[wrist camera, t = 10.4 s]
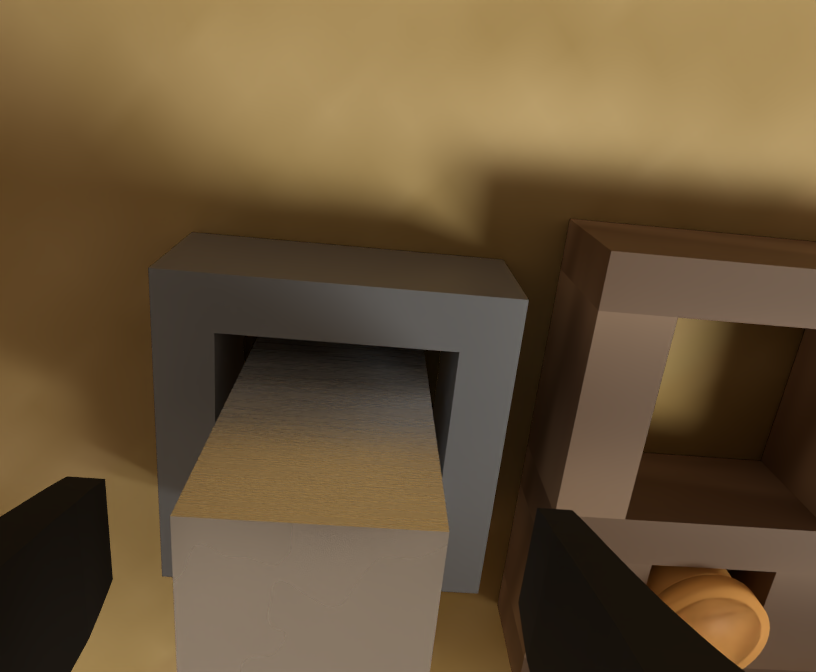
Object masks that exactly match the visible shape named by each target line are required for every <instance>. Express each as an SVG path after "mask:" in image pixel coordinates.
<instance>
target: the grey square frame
mask: <svg viewBox="0 0 816 672" xmlns="http://www.w3.org/2000/svg"><path fill="white" fill-rule="evenodd" d="M148 272H149V294H150V316H151V338H152V361H153V383H154V405H155V427H156V449H157V471H158V494H159V516H160V538H161V560H162V576H166V577H173V571H172V549H171V526H170V515H171V513H172V511H173V509H174V507H175V505H176V503H177V501H178V499H179V497H180V495H181V493H182V491H183V489H184V487H185V485H186V483H187V480H188V478H189V476H190V474H191V472H192V470H193V468H194V466H195V464H196V462H197V460H198V458H199V456H200V454H201V452H202V450H203V448H204V446H205V444H206V442H207V440H208V437H209V435H210V433H211V431H212V429H213V427H214V425H215V423H216V421H217V419H218V417H219V415H220V413H221V411H222V409H223V407H224V405H225V403H226V401H227V399H228V397H229V394H230V392H231V390H232V388H233V386H234V384H235V382H236V380H237V378H238V376H239V374H240V372H241V370H242V368H243V366H244V335H246V336H259V337H271V338H284V339H297V340H310V341H322V342H335V343H348V344H361V345H373V346H386V347H399V348H412V349H424V350H437V351H440V359H439V367H438V375H437V383H436V391H435V399H434V407H433V419H434V426H435V433H436V440H437V447H438V454H439V461H440V468H441V476H442V483H443V490H444V497H445V504H446V511H447V518H448V526H449V538H448V546H447V553H446V560H445V567H444V574H443V581H442V588H441V591H443V592H461V593H478V591H479V585H480V579H481V574H482V568H483V562H484V556H485V551H486V545H487V539H488V533H489V527H490V522H491V516H492V510H493V504H494V499H495V493H496V487H497V481H498V475H499V470H500V464H501V458H502V452H503V447H504V441H505V435H506V429H507V423H508V418H509V412H510V406H511V400H512V395H513V389H514V383H515V377H516V371H517V366H518V360H519V354H520V348H521V342H522V337H523V331H524V325H525V319H526V314H527V308H528V302H529V299H528V298H527V296H526V295H525V293H524V292H523V290H522V289H521V287H520V285H519V284H518V282H517V281H516V279H515V278H514V276H513V274H512V273H511V271H510V270H509V268H508V267H507V265H506V263H505V262H504V260H501V259H489V258H478V257H467V256H455V255H444V254H433V253H421V252H410V251H399V250H387V249H376V248H365V247H353V246H342V245H331V244H319V243H308V242H297V241H285V240H274V239H263V238H251V237H240V236H229V235H217V234H206V233H195V232H192V233H190V234H189V235H188V236H187V237H185V238H184V239H183V240H182V241H181V242H179V243H178V244H177V245H176V246H174V247H173V248H172V249H171V250H170V251H168V252H167V253H166V254H165V255H164V256H162V257H161V258H160V259H159V260H157V261H156V262H155V263H154V264H153V265H151V266H150V267H149V268H148Z"/></svg>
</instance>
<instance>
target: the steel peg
mask: <svg viewBox="0 0 816 672" xmlns="http://www.w3.org/2000/svg"><path fill="white" fill-rule="evenodd" d="M170 526H171V549H172V571H173V594H174V616H175V639H176V661H177V672H430V667H431V660H432V653H433V645H434V638H435V631H436V624H437V617H438V610H439V603H440V596H441V588H442V581H443V574H444V567H445V560H446V553H447V546H448V538H449V526H448V518H447V511H446V504H445V497H444V490H443V483H442V476H441V468H440V461H439V454H438V447H437V440H436V433H435V426H434V419H433V411H432V404H431V397H430V390H429V383H428V376H427V369H426V362H425V354H424V349H412V348H399V347H386V346H373V345H361V344H348V343H335V342H322V341H310V340H297V339H284V338H271V337H259V336H258V337H257V339H256V341H255V343H254V345H253V347H252V349H251V351H250V354H249V356H248V358H247V360H246V362H245V364H244V366H243V368H242V370H241V372H240V374H239V376H238V378H237V380H236V382H235V384H234V386H233V388H232V390H231V392H230V394H229V397H228V399H227V401H226V403H225V405H224V407H223V409H222V411H221V413H220V415H219V417H218V419H217V421H216V423H215V425H214V427H213V429H212V431H211V433H210V435H209V437H208V440H207V442H206V444H205V446H204V448H203V450H202V452H201V454H200V456H199V458H198V460H197V462H196V464H195V466H194V468H193V470H192V472H191V474H190V476H189V478H188V480H187V483H186V485H185V487H184V489H183V491H182V493H181V495H180V497H179V499H178V501H177V503H176V505H175V507H174V509H173V511H172V513H171V515H170Z"/></svg>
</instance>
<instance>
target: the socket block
mask: <svg viewBox="0 0 816 672" xmlns="http://www.w3.org/2000/svg"><path fill="white" fill-rule="evenodd" d="M678 318H690V319H702V320H714V321H726V322H738V323H750V324H762V325H774V326H786V327H798V328H806V329H805V332H804V335H803V338H802V341H801V344H800V347H799V350H798V353H797V356H796V359H795V361H794V364H793V367H792V370H791V373H790V376H789V379H788V382H787V385H786V388H785V391H784V394H783V397H782V400H781V403H780V406H779V409H778V412H777V415H776V418H775V421H774V424H773V427H772V430H771V433H770V435H769V438H768V441H767V444H766V447H765V450H764V453H763V456H762V459H761V461H755V460H740V459H726V458H712V457H697V456H683V455H669V454H654V453H643V449H644V445H645V442H646V438H647V434H648V430H649V426H650V422H651V419H652V415H653V411H654V407H655V403H656V399H657V396H658V392H659V388H660V384H661V380H662V376H663V373H664V369H665V365H666V361H667V357H668V354H669V350H670V346H671V342H672V338H673V334H674V331H675V327H676V323H677V319H678ZM537 508H549V509H564V510H573V511H574V512H575V513H576V514H577V515H578V516H579V517H580V518H581V519H582V520H583V521H584V522H585V523H586V524H587V525H588V526H589V527H590V528H591V529H592V530H593V531H594V532H595V533H596V534H597V535H598V536H599V537H600V538H601V539H602V541H603V542H604V543H605V544H606V545H607V546H608V547H609V548H610V549H611V550H612V551H613V552H614V553H615V554H616V555H617V556H618V557H619V558H620V559H621V560H622V561H623V562H624V563H625V564H626V565H627V566H628V567H629V568H630V569H631V570H632V571H633V572H634V573H635V574H636V575H637V576H638V577H639V578H640V579H641V580H642V581H643V582H644V583H645V584H647V580H648V577H649V573H650V570H651V566H652V565H662V566H679V567H696V568H714V569H726V570H727V572H728V573H729V574H730V576H731V577H732V578H734V579H736V580H738V581H740V582H742V583H743V584H745V585H746V586H747V587H748V588H749V589H750V590H751V591H752V592H753V594H754V595H755V597H756V598H757V600H758V601H759V602H760V604H761V605H762V607H763V608H764V610H765V611H766V613H767V615H768V618H769V622H770V631H769V637H768V640H767V642H766V645H765V647H764V648H763V650H762V651H761V653H760V654H759V655H758V656H757V658H756V659H755V660H754V661H752V662H751V663H750V664H749V665H748V666H746V667H745V668H744V669H742V670H744V671H745V672H816V242H815V241H804V240H793V239H782V238H772V237H761V236H750V235H739V234H729V233H718V232H707V231H696V230H686V229H675V228H664V227H653V226H643V225H632V224H621V223H610V222H600V221H589V220H578V219H570V222H569V227H568V232H567V238H566V243H565V248H564V254H563V259H562V264H561V270H560V275H559V280H558V286H557V291H556V296H555V302H554V307H553V312H552V318H551V323H550V328H549V333H548V339H547V344H546V349H545V355H544V360H543V365H542V371H541V376H540V381H539V387H538V392H537V397H536V403H535V408H534V413H533V419H532V424H531V429H530V435H529V440H528V445H527V451H526V456H525V461H524V467H523V472H522V477H521V482H520V488H519V493H518V498H517V504H516V509H515V514H514V520H513V525H512V530H511V536H510V541H509V546H508V552H507V557H506V562H505V568H504V573H503V578H502V584H501V589H500V594H499V600H498V610H499V614H500V619H501V624H502V628H503V633H504V638H505V642H506V647H507V652H508V657H509V661H510V666H511V671H512V672H530V671H529V667H528V663H527V658H526V652H525V646H524V640H523V633H522V626H521V619H520V611H519V604H518V601H519V596H520V591H521V586H522V581H523V576H524V571H525V566H526V561H527V556H528V551H529V546H530V541H531V536H532V531H533V526H534V521H535V516H536V512H537Z"/></svg>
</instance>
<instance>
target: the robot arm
mask: <svg viewBox="0 0 816 672" xmlns="http://www.w3.org/2000/svg"><path fill="white" fill-rule="evenodd" d="M112 580H113V577H112V564H111V551H110V538H109V525H108V512H107V499H106V486H105V479H96V478H81V477H65V478H64V479H62V480H60V481H58V482H56V483H54V484H53V485H51V486H49V487H48V488H46V489H44V490H43V491H41V492H39V493H38V494H36V495H35V496H33V497H31V498H30V499H28V500H27V501H25V502H23V503H22V504H20V505H19V506H17V507H15V508H14V509H12V510H11V511H9V512H7V513H6V514H4V515H3V516H1V517H0V672H71V670H72V669H73V667H74V665H75V663H76V661H77V660H78V658H79V656H80V654H81V652H82V650H83V649H84V647H85V645H86V643H87V641H88V639H89V637H90V635H91V632H92V630H93V628H94V625H95V623H96V620H97V618H98V616H99V613H100V611H101V608H102V606H103V603H104V600H105V598H106V595H107V593H108V590H109V588H110V585H111V582H112ZM518 604H519V611H520V619H521V626H522V633H523V640H524V646H525V652H526V658H527V663H528V667H529V671H530V672H745V671H744V670H742V669H741V668H740V667H738V666H737V665H736V664H735V663H733V662H732V661H731V660H729V659H728V658H727V657H726V656H725V655H723V654H722V653H721V652H720V651H719V650H717V649H716V648H715V647H714V646H713V645H711V644H710V643H709V642H708V641H707V640H706V639H704V638H703V637H702V636H701V635H700V634H699V633H698V632H697V631H695V630H694V629H693V628H692V627H691V626H690V625H689V624H687V623H686V622H685V621H684V620H683V619H682V618H681V617H680V616H678V615H677V614H676V613H675V612H674V611H673V610H672V609H671V608H670V607H669V606H668V605H667V604H666V603H664V602H663V601H662V600H661V599H660V598H659V597H658V596H657V595H656V594H655V593H654V592H653V591H652V590H651V589H650V588H649V587H648V586H647V585H646V584H645V583H644V582H643V581H642V580H641V579H640V578H639V577H638V576H637V575H636V574H635V573H634V572H633V571H632V570H631V569H630V568H629V567H628V566H627V565H626V564H625V563H624V562H623V561H622V560H621V559H620V558H619V557H618V556H617V555H616V554H615V553H614V552H613V551H612V550H611V549H610V548H609V547H608V546H607V545H606V544H605V543H604V542H603V541H602V539H601V538H600V537H599V536H598V535H597V534H596V533H595V532H594V531H593V530H592V529H591V528H590V527H589V526H588V525H587V524H586V523H585V522H584V521H583V520H582V519H581V518H580V517H579V516H578V515H577V514H576V513H575V512H574V511H573V510H564V509H549V508H537V512H536V516H535V521H534V526H533V531H532V536H531V541H530V546H529V551H528V556H527V561H526V566H525V571H524V576H523V581H522V586H521V591H520V596H519V601H518Z"/></svg>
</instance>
